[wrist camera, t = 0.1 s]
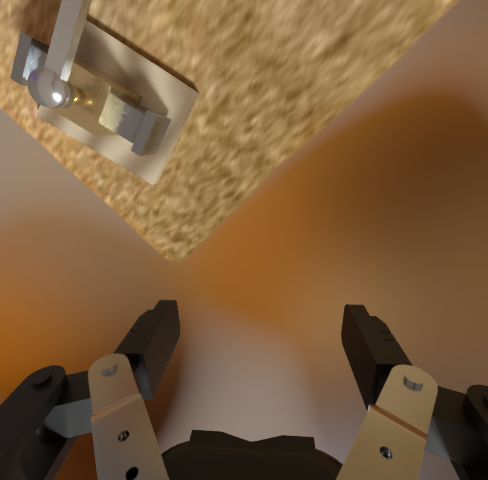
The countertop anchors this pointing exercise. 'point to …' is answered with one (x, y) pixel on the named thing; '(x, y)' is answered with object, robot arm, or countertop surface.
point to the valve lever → (60, 57)
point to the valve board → (152, 96)
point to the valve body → (97, 100)
